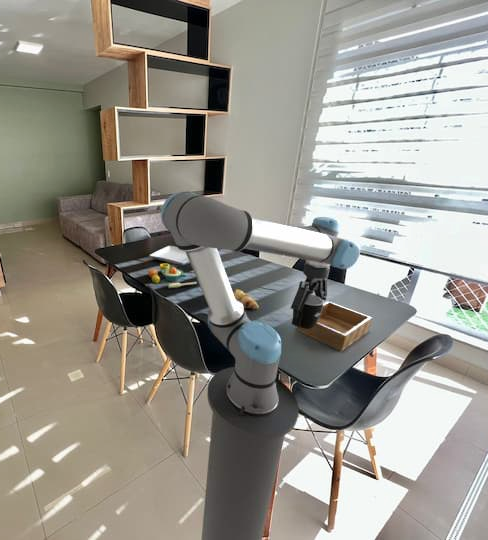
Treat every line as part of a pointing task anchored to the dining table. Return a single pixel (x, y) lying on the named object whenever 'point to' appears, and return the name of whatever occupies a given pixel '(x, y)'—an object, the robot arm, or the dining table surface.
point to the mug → (311, 312)
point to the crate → (338, 326)
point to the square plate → (171, 255)
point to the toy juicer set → (169, 275)
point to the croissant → (245, 299)
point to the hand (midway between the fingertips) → (305, 320)
